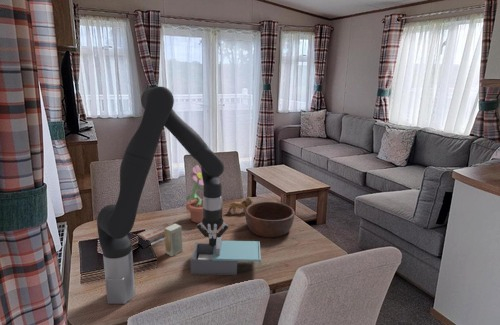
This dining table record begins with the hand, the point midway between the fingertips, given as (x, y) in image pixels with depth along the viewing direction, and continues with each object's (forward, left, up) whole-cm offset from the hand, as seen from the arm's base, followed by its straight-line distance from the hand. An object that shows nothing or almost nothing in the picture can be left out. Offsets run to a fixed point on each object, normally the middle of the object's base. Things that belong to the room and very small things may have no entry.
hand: (212, 245), depth 137 cm
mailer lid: (0, -10, -4) cm, 11 cm away
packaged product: (+21, +30, -9) cm, 38 cm away
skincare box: (+9, +18, -9) cm, 22 cm away
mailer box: (0, -1, -9) cm, 9 cm away
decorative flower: (+42, +12, -9) cm, 44 cm away
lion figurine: (+54, -10, -9) cm, 55 cm away
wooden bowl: (+34, -25, -9) cm, 43 cm away
